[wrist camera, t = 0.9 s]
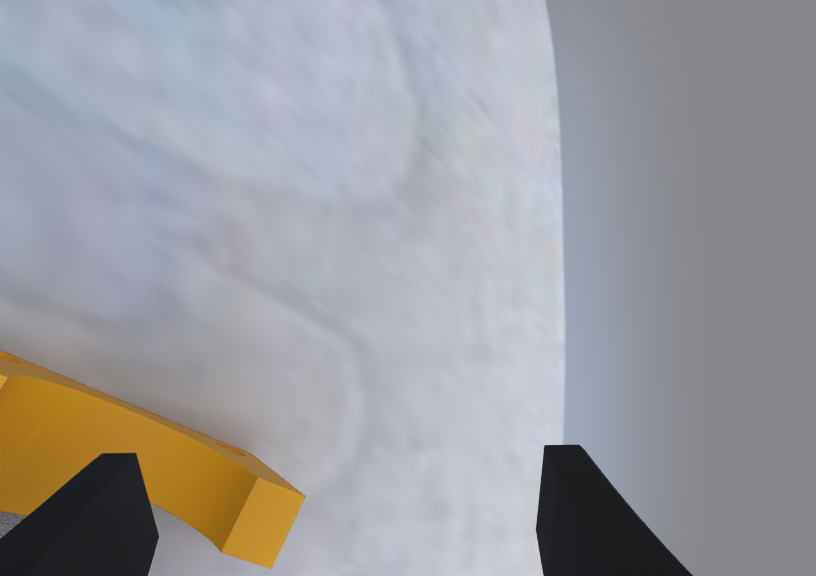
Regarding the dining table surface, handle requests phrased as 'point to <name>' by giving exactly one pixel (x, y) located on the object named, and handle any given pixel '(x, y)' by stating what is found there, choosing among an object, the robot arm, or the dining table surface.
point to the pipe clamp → (157, 454)
